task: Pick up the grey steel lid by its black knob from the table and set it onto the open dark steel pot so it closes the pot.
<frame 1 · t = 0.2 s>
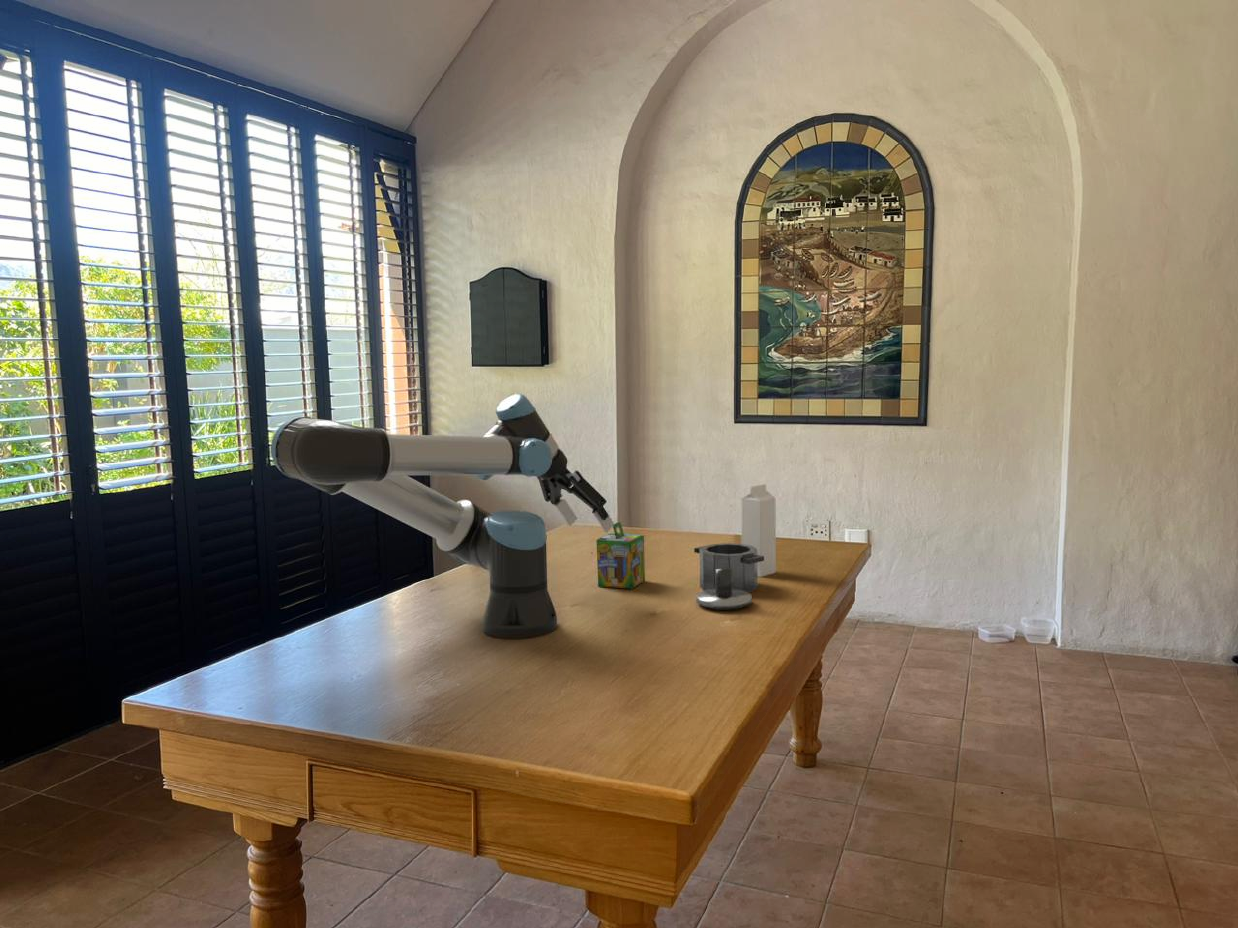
hand: (591, 525, 218), 16 cm above the table, tool tilted 35°, fingers open, 13 cm apart
pot: (728, 586, 220), on the table
lid: (723, 605, 205), on the table
milk: (758, 573, 233), on the table
chalk box: (621, 584, 226), on the table
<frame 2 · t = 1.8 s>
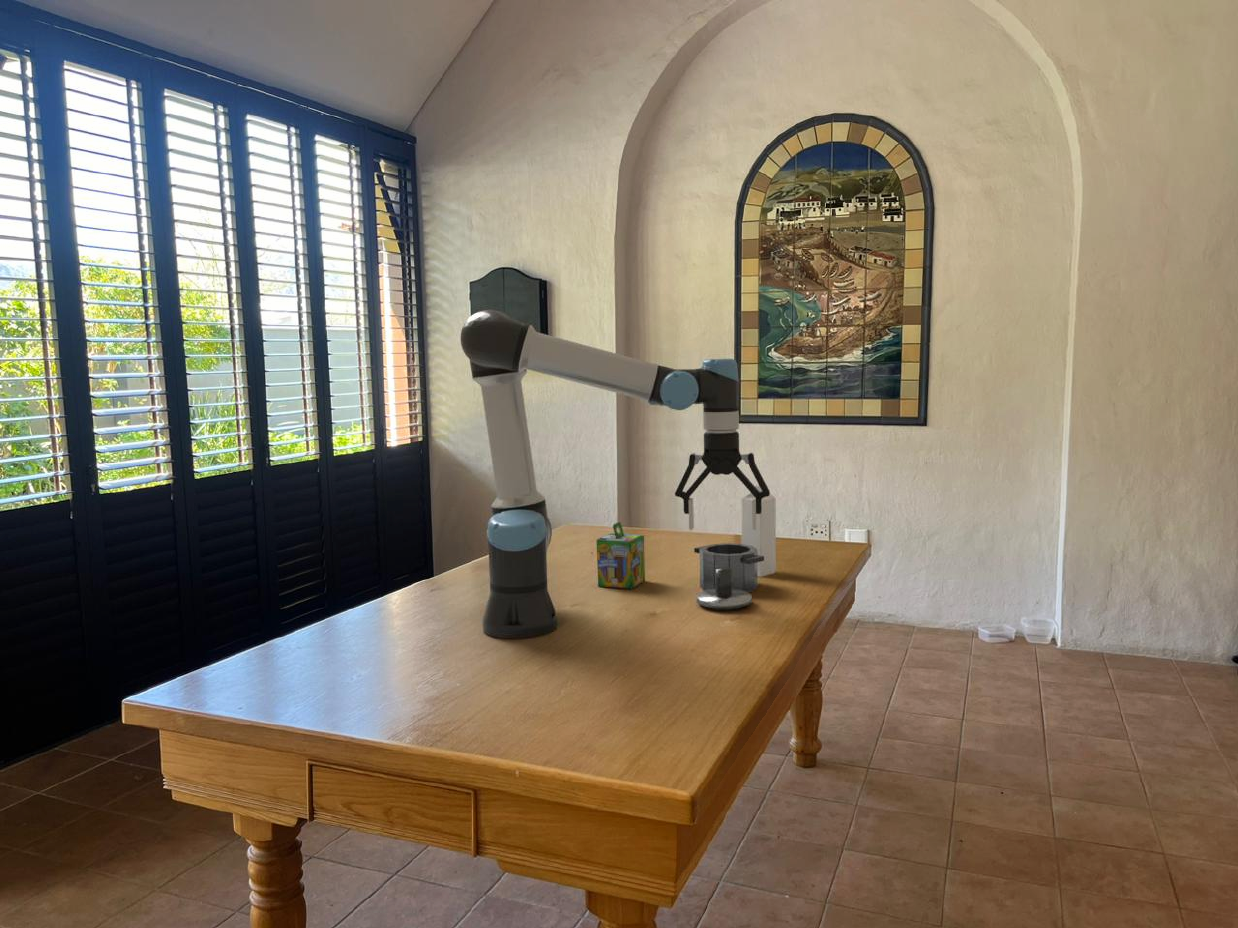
hand: (722, 528, 203), 17 cm above the table, tool pointing down, fingers open, 13 cm apart
nothing on the table moved.
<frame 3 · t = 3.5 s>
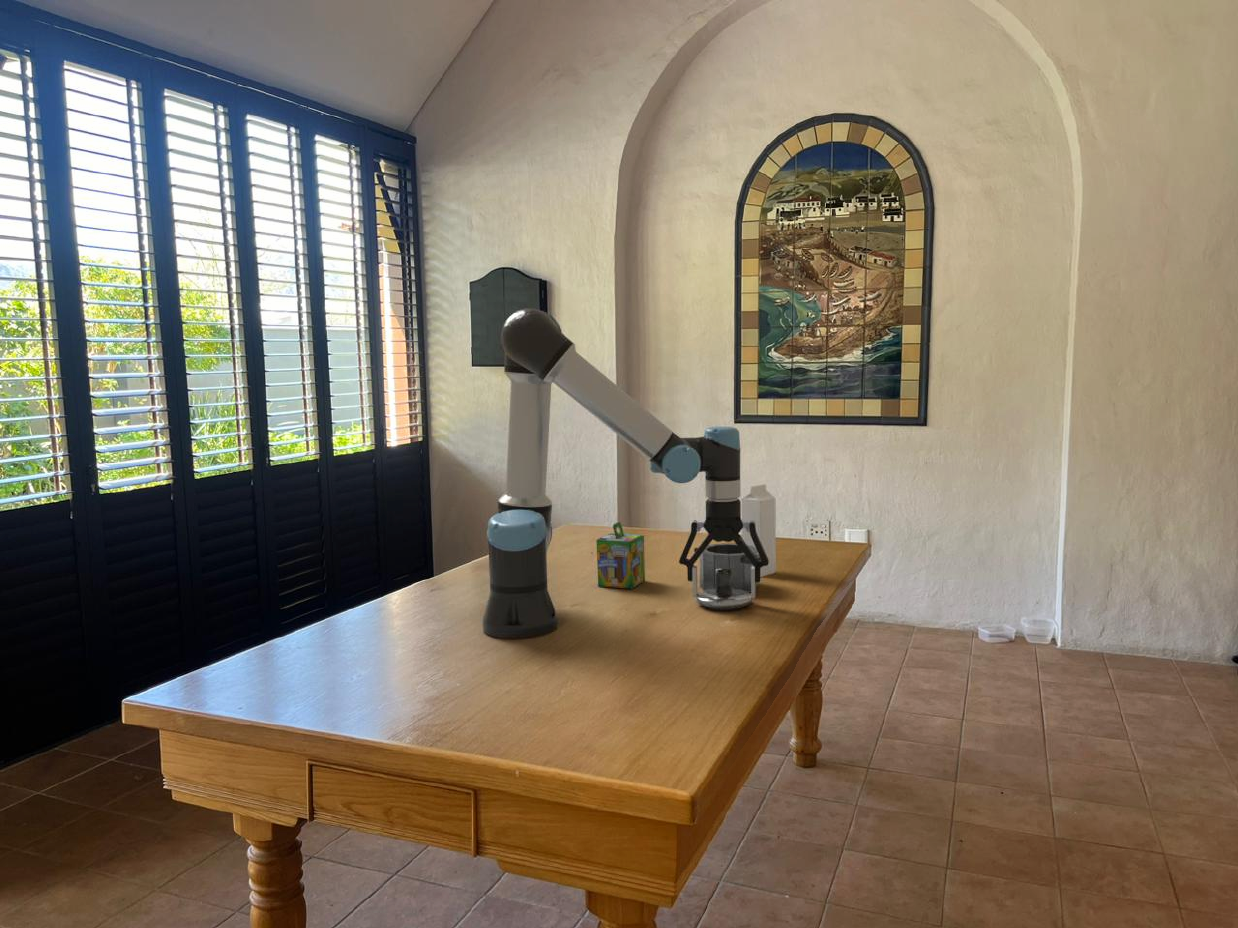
hand: (724, 596, 205), 2 cm above the table, tool pointing down, fingers closed on lid, 12 cm apart
lid: (724, 605, 205), on the table, touching gripper
everything else where it was.
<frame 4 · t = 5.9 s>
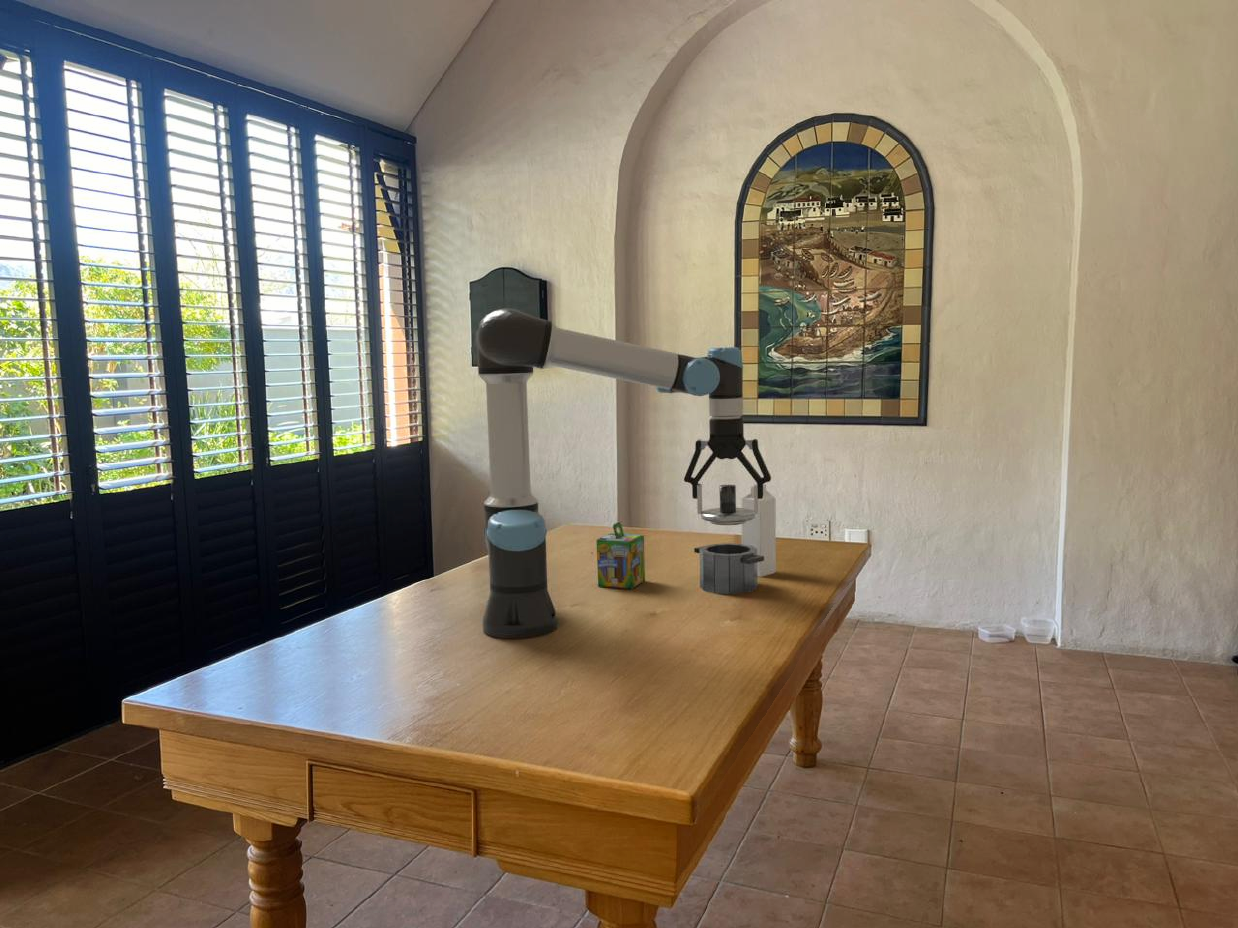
hand: (728, 513, 211), 19 cm above the table, tool pointing down, fingers closed on lid, 12 cm apart
lid: (728, 521, 211), point 17 cm above the table, touching gripper
everything else where it was.
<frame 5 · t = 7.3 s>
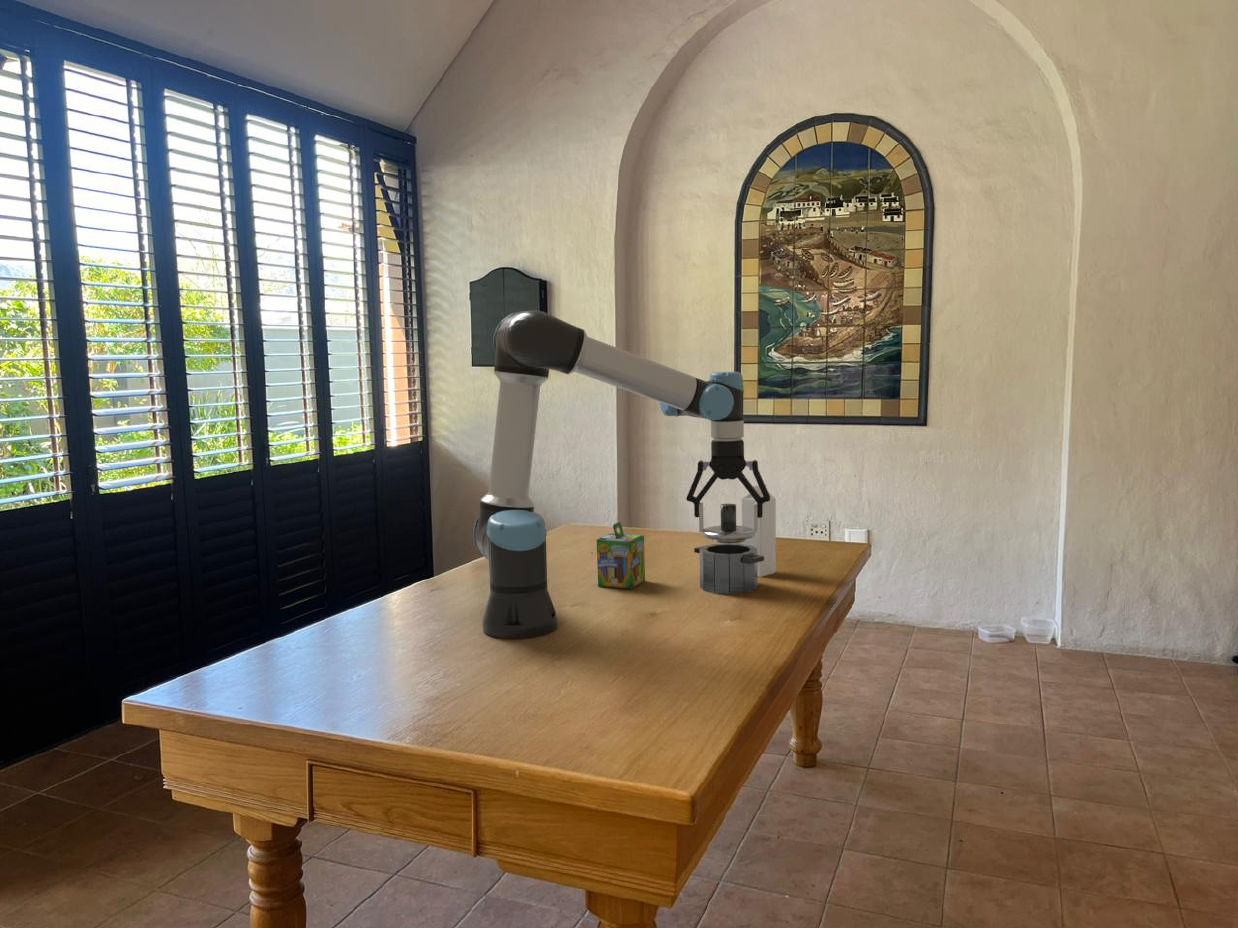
hand: (728, 531, 219), 13 cm above the table, tool pointing down, fingers closed on lid, 12 cm apart
lid: (728, 539, 219), point 11 cm above the table, touching gripper
everything else where it was.
when the fingers open (11 cm above the table, at t = 8.3 s): lid drops 1 cm, resting on pot.
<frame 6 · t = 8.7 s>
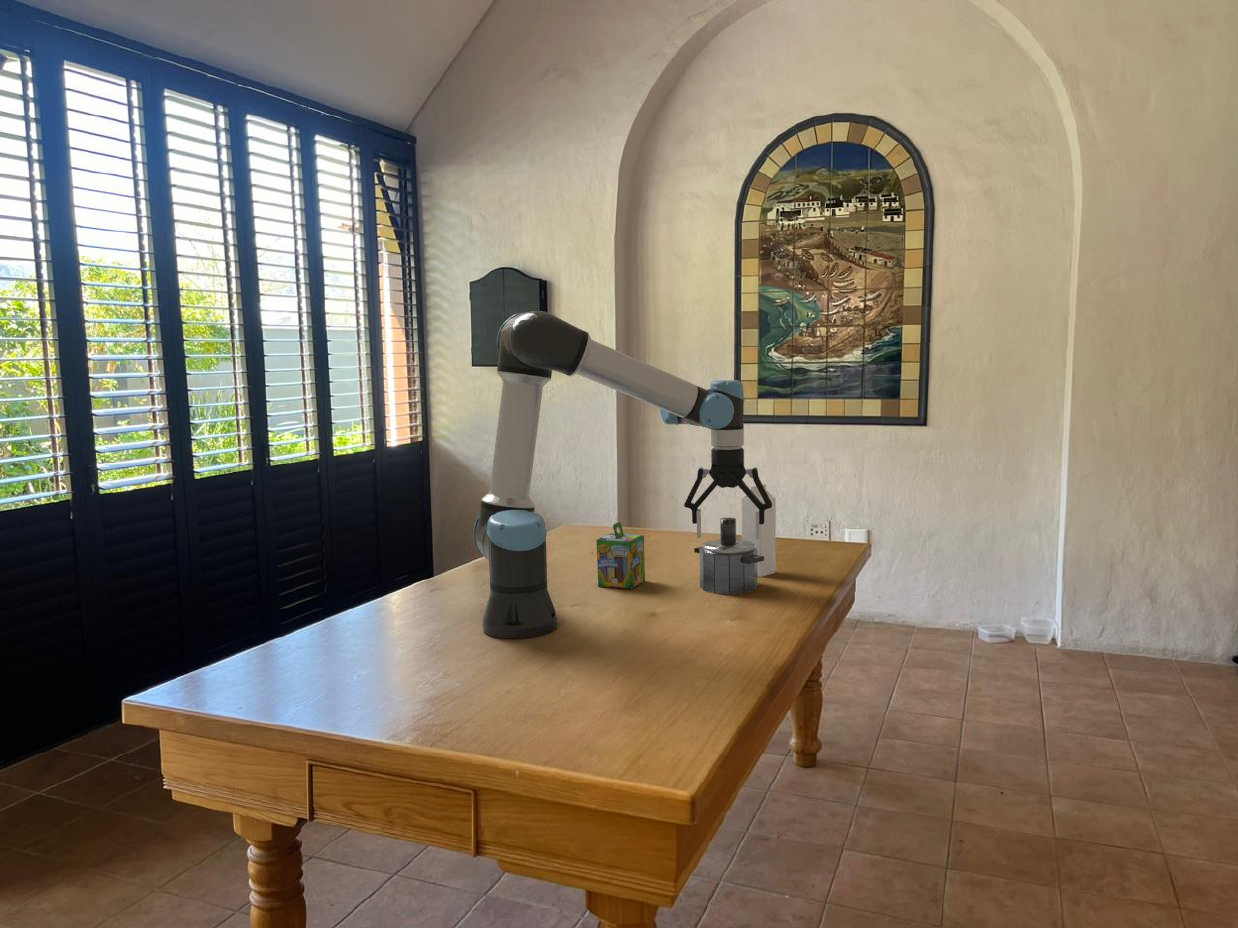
hand: (728, 537, 219), 12 cm above the table, tool pointing down, fingers open, 13 cm apart
lid: (728, 553, 219), point 8 cm above the table, touching pot
everything else where it was.
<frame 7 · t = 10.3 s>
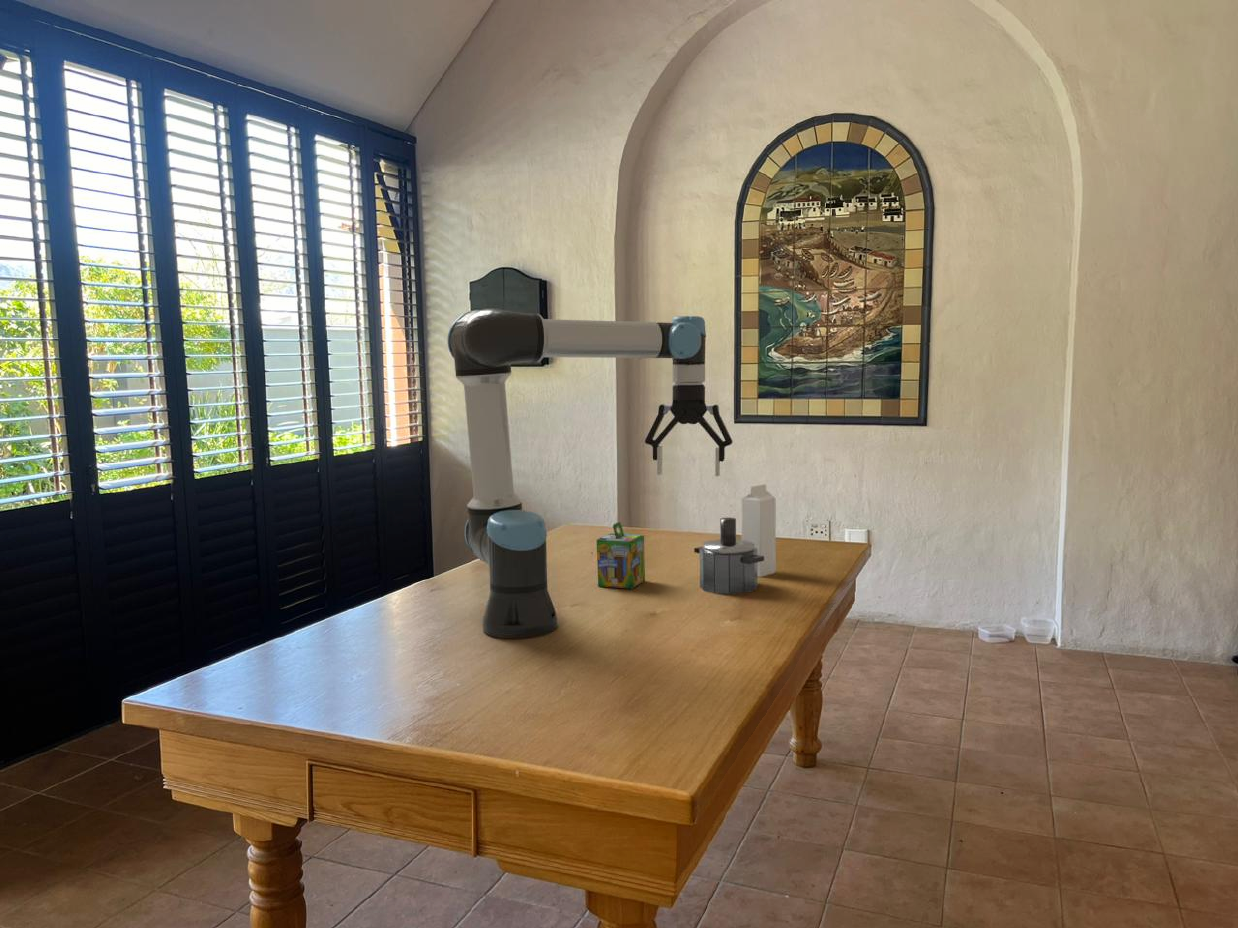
hand: (688, 475, 219), 26 cm above the table, tool pointing down, fingers open, 13 cm apart
nothing on the table moved.
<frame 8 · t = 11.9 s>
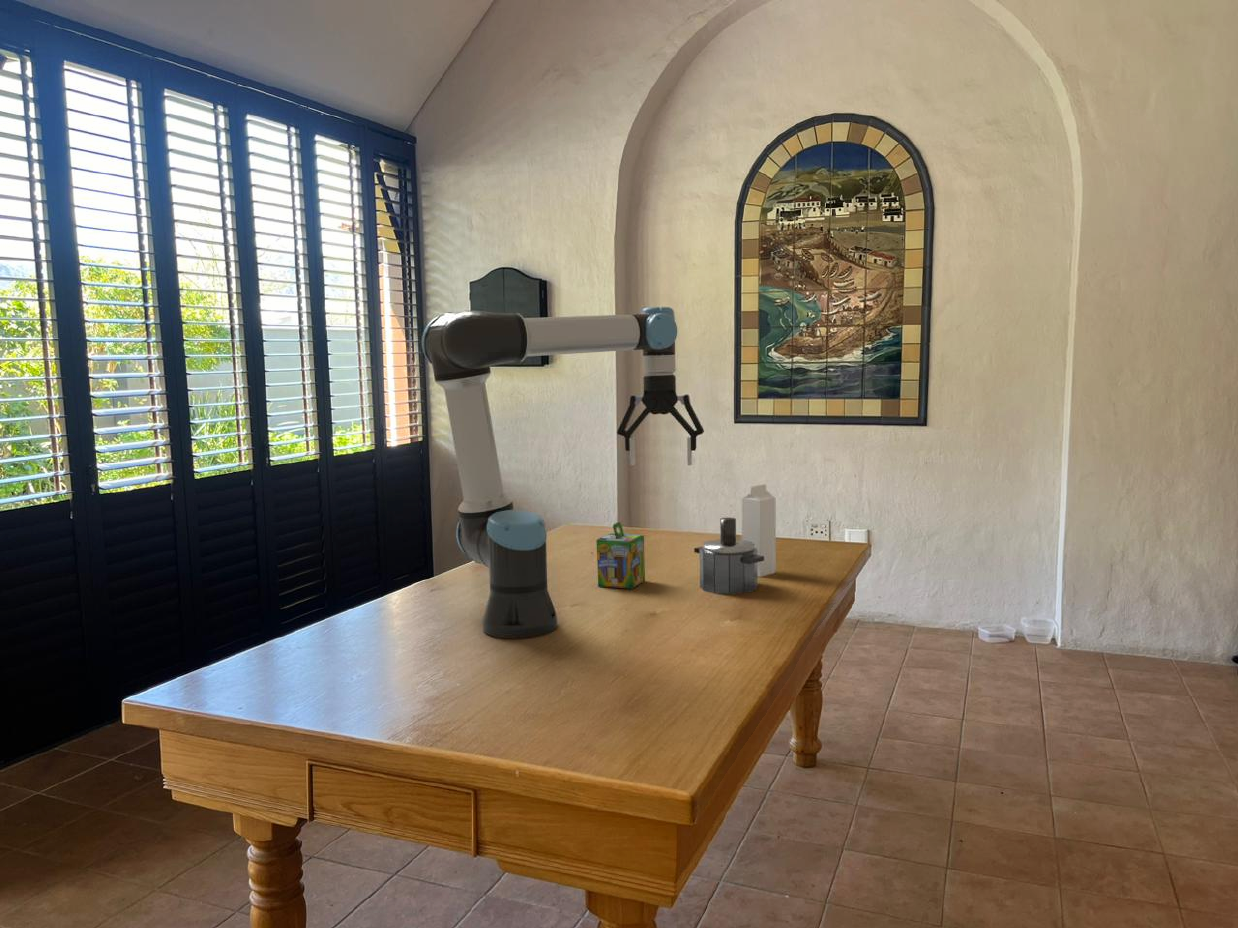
hand: (661, 464, 221), 29 cm above the table, tool pointing down, fingers open, 13 cm apart
nothing on the table moved.
at the end: lid 0.0 cm off-centre on the pot, point 8.0 cm above the pot's base; lid tilted 0°; the gripper is holding nothing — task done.
